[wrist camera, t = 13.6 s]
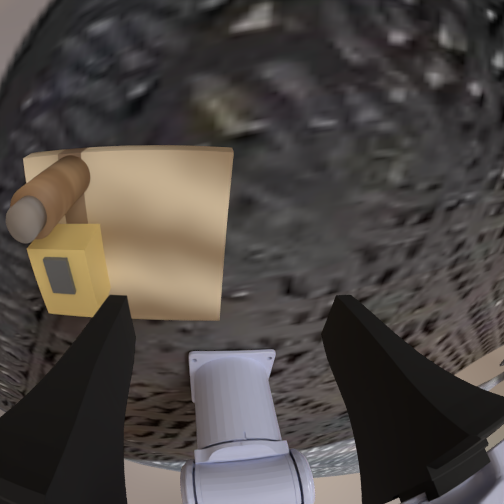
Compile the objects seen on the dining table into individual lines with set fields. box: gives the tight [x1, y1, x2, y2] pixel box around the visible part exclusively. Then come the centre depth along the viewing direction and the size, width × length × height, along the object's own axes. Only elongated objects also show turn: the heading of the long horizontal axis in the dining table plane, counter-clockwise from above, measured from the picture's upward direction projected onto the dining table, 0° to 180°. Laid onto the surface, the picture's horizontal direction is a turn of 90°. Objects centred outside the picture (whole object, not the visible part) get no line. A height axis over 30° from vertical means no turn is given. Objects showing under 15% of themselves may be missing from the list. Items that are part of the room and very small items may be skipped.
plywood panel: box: [23, 145, 234, 320], centre depth 18 cm, size 12×13×1 cm
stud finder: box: [27, 224, 111, 317], centre depth 16 cm, size 5×4×3 cm
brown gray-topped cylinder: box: [6, 155, 90, 243], centre depth 12 cm, size 3×3×6 cm
